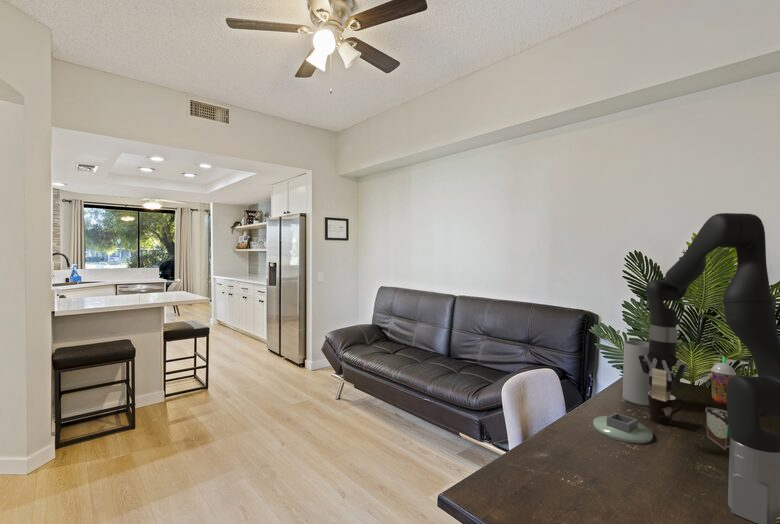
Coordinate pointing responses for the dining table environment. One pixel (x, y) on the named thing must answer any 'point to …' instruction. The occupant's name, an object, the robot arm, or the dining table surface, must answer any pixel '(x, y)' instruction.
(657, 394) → the beige rectangular block
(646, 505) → the dining table surface
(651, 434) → the clip plate
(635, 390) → the cylinder vase
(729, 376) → the smoothie
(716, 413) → the food container
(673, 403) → the coffee mug
